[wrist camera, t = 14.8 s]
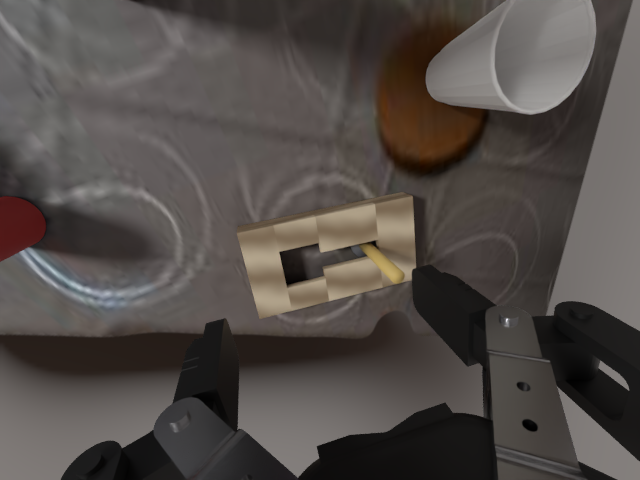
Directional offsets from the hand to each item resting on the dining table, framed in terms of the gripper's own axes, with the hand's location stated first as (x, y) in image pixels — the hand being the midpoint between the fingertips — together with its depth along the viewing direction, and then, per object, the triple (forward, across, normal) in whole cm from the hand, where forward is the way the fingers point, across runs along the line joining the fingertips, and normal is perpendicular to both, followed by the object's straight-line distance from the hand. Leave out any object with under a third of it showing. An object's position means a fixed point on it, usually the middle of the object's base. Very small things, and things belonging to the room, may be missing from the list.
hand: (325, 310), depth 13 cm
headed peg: (+33, -12, +13) cm, 38 cm away
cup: (+34, -28, -9) cm, 45 cm away
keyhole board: (+33, -7, +13) cm, 36 cm away
